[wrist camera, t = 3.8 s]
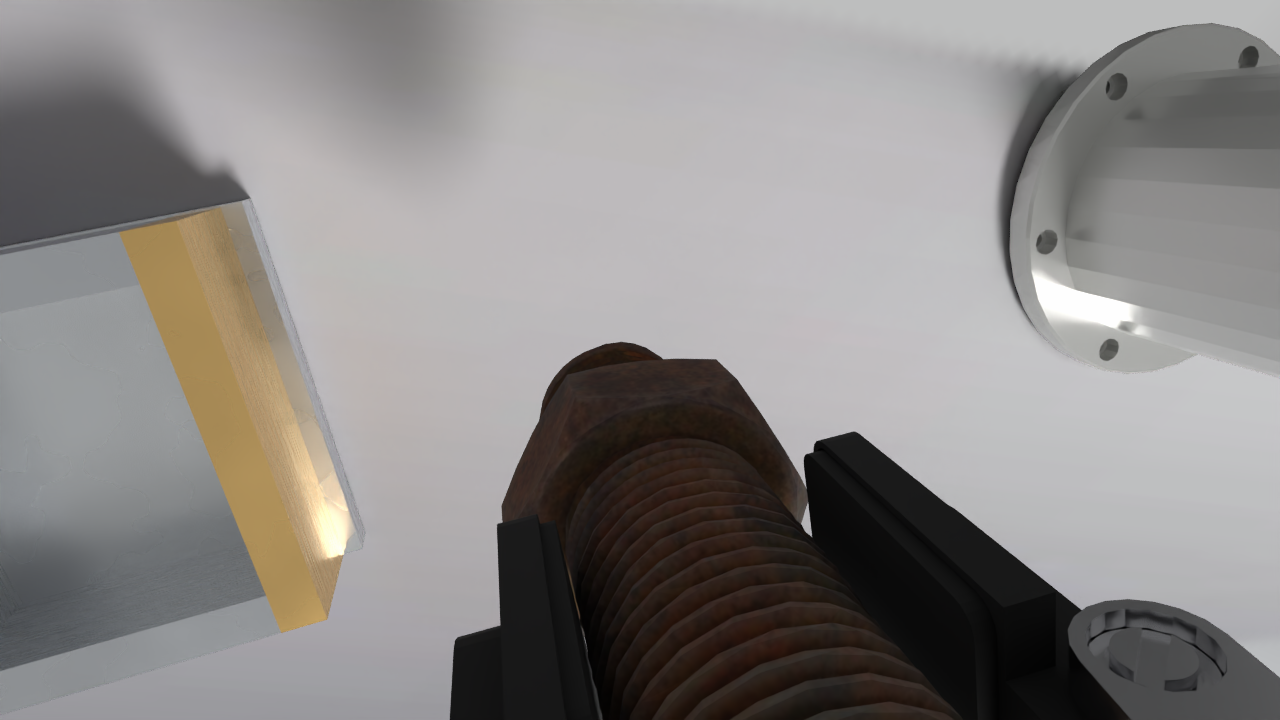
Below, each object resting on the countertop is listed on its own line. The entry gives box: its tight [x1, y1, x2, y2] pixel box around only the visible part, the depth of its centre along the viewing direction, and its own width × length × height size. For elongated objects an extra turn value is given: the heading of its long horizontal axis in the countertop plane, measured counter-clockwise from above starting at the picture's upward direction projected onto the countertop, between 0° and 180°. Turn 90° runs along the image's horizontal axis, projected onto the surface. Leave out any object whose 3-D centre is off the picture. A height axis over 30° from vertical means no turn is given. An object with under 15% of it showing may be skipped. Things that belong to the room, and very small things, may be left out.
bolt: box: [502, 342, 963, 720], centre depth 10 cm, size 6×5×15 cm
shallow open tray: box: [0, 198, 365, 715], centre depth 20 cm, size 11×11×4 cm
